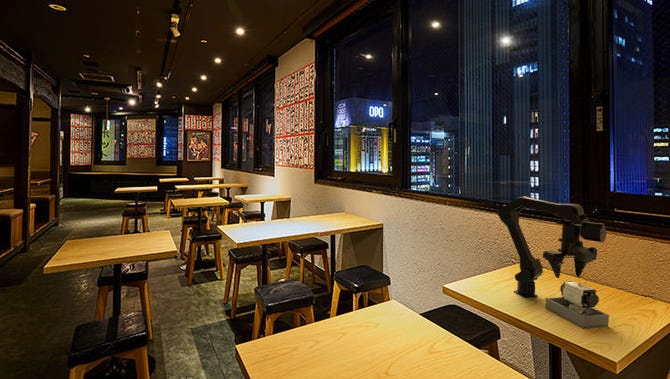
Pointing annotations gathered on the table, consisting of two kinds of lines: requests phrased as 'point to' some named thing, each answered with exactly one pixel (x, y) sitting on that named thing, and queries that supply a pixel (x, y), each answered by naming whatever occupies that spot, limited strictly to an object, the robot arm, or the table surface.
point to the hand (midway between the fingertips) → (567, 277)
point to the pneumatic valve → (579, 296)
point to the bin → (589, 321)
